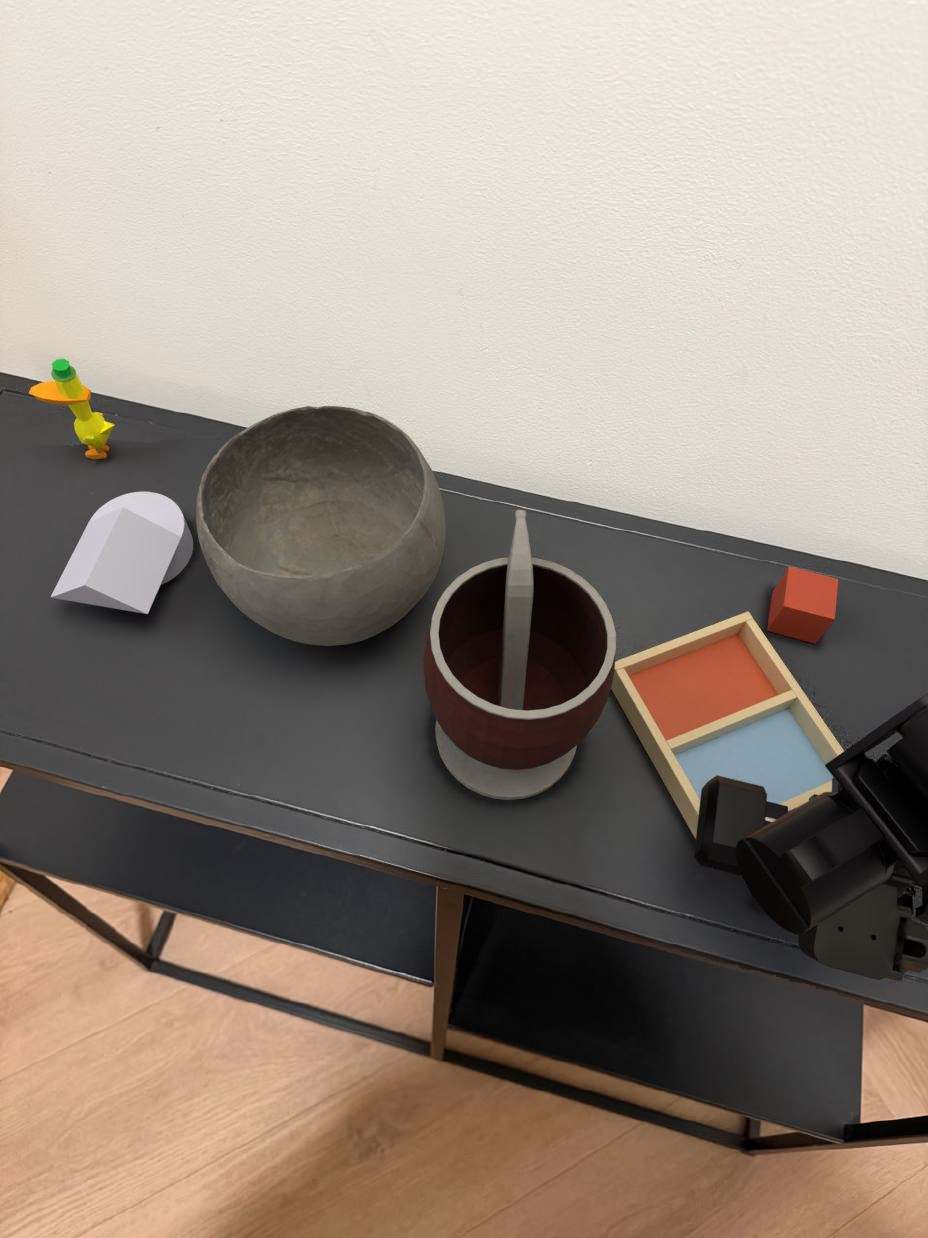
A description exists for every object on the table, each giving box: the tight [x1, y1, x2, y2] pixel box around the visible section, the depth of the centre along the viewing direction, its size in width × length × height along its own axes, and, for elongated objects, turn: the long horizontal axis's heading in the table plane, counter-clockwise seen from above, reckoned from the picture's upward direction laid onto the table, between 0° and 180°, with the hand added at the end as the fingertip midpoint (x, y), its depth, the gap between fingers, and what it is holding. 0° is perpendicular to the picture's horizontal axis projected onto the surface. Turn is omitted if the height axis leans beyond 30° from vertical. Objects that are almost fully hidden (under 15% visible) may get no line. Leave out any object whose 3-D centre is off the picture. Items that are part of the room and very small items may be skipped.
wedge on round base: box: [50, 491, 194, 615], centre depth 77 cm, size 9×7×13 cm
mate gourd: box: [422, 509, 617, 801], centre depth 64 cm, size 16×14×20 cm
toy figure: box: [28, 358, 115, 460], centre depth 82 cm, size 7×4×12 cm, turn 87°
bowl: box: [195, 405, 447, 647], centre depth 73 cm, size 20×20×15 cm
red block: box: [766, 566, 839, 645], centre depth 77 cm, size 4×4×4 cm
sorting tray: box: [611, 611, 845, 840], centre depth 71 cm, size 14×17×3 cm
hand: (792, 880), depth 65 cm, fingers closed on blue block, 4 cm apart
